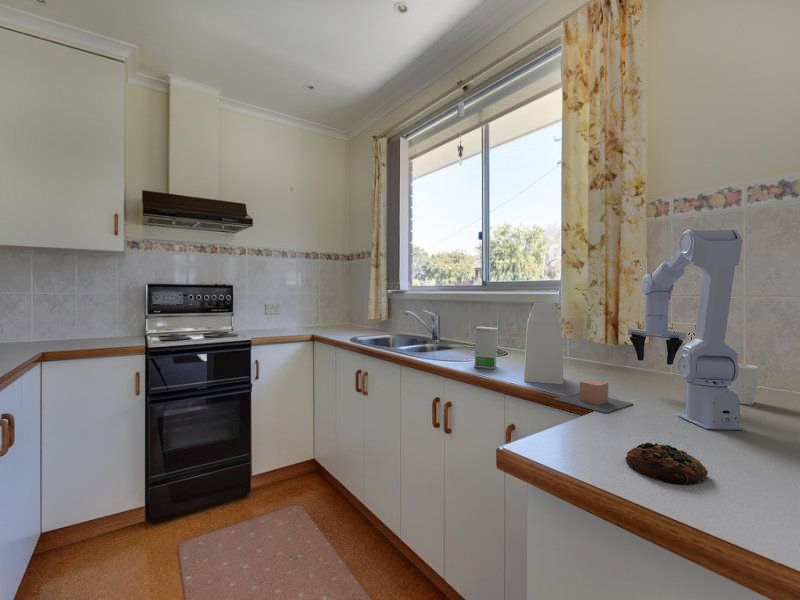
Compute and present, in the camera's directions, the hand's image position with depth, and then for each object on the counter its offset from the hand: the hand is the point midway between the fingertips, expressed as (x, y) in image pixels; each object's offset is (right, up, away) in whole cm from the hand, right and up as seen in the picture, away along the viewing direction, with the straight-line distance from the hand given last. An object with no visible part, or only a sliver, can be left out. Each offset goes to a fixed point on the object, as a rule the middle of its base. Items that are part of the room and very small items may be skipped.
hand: (654, 362), depth 111 cm
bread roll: (-31, -10, -48) cm, 58 cm away
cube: (-22, -9, -9) cm, 26 cm away
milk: (-26, -9, +18) cm, 33 cm away
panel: (-23, -9, -9) cm, 26 cm away
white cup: (+19, -10, -6) cm, 22 cm away
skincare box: (-41, -8, +39) cm, 57 cm away
